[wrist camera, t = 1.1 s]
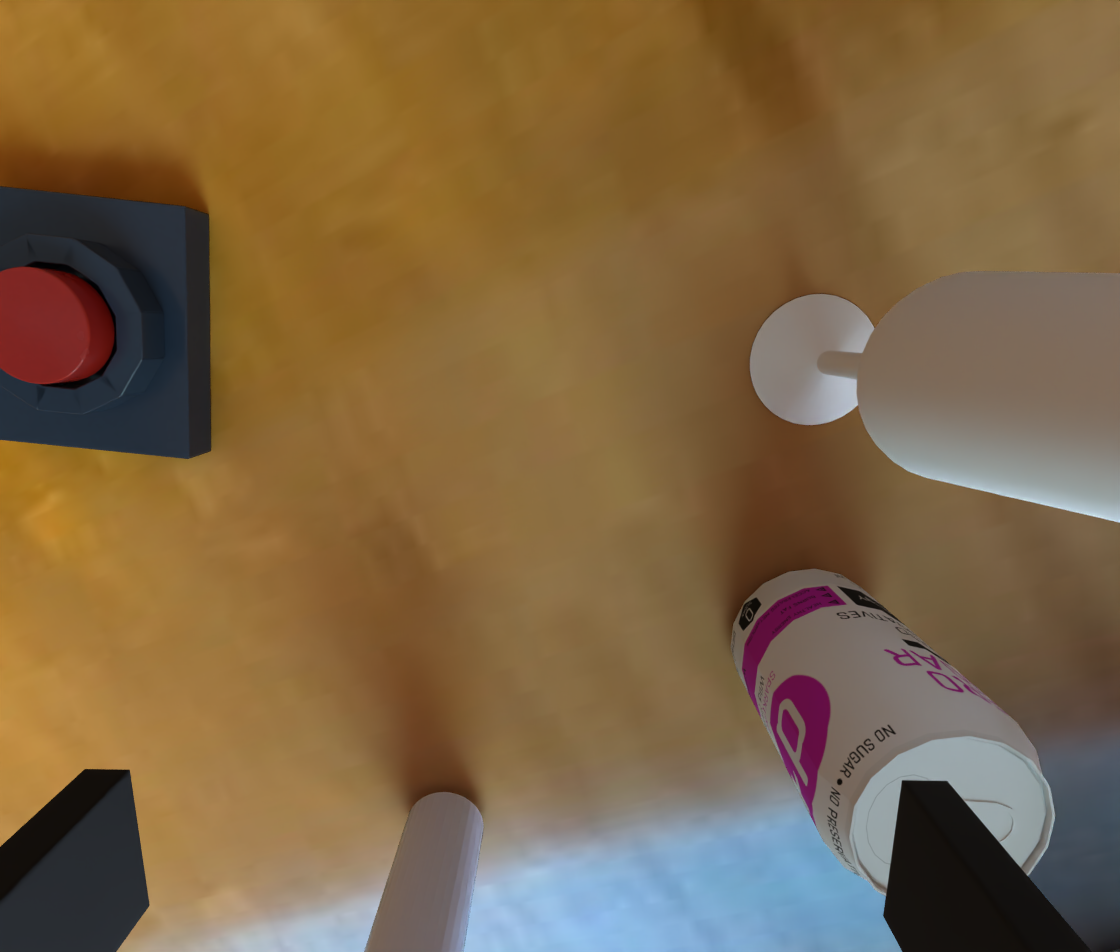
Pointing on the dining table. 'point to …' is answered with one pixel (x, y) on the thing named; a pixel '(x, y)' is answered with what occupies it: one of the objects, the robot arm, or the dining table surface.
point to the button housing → (118, 323)
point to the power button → (52, 326)
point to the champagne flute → (967, 381)
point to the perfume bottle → (430, 879)
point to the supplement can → (879, 722)
